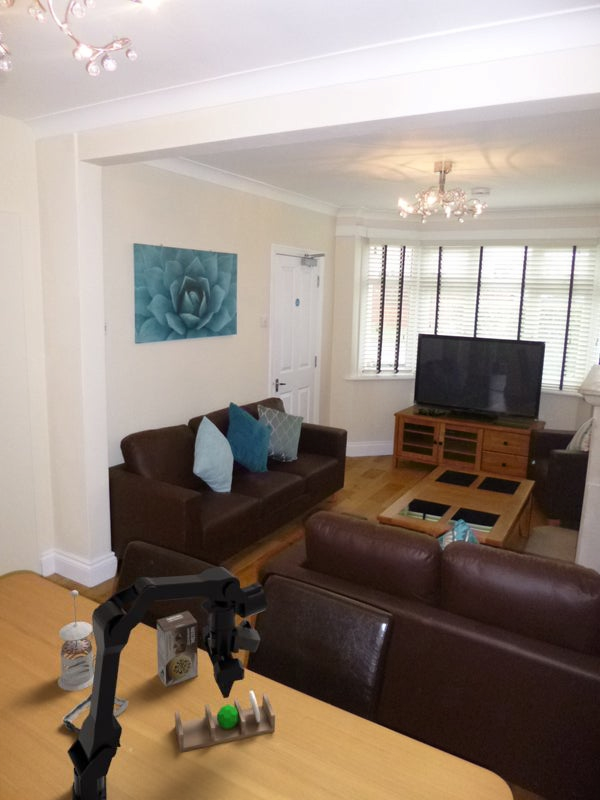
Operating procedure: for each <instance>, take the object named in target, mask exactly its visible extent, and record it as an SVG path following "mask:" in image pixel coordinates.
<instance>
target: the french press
mask: <svg viewBox="0 0 600 800" xmlns="http://www.w3.org/2000/svg"><path fill="white" fill-rule="evenodd" d="M69 594H70V595H69V596H70V597H73V599H74V602H73V603H74V605H73V606H74V609H76V597H78V596H79V592H78V590H76V589H74V590H71V591H70V593H69ZM76 613H77V612H76V610H74V621H73V622H71V623H68V624H67V625H64V626H62V628H61V629H59V633H58V634H59V635H58V636H59V638H60V639H62V640H63V641H65V642H64V643H62V646H61V650H60V663H61V664H60V665H61V667H60V668H61V674H60V676H59V677H58V680H57V685H58V687H60V688H61V689H62V690H65V691H69V692H71V691H72V692H73V691H81V690H83V689H86V688H88V687H89V686H93V678H94V669H95V661H96V653H95V654H94V655H93V645H92V640H93V639H94V634H93V625H92V624H90V623H88V622H86V621H77V618H76V617H77V615H76ZM90 635H91V636H90ZM89 636H90V637H91V639H89V638H88V637H89ZM84 655H85V656H84ZM75 656H76V657H75Z"/></svg>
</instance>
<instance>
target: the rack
mask: <svg viewBox="0 0 600 800" xmlns="http://www.w3.org/2000/svg"><path fill="white" fill-rule="evenodd" d="M233 699H234V700H233V701H234V704H233V707H235V708H236V710H237V711H238V714H239V718H238V721H237V723H236V724H235V726H234V727H232V728H229V729H225V728H223V727H221V726H220V725H219V723H218V721H217V714H216V715H212V712H211V707H210V704H209V703H207V704H205V705H204V706H205V707H204V709H205V710H204V712H205V713H204V717H201V718H196V719H192V720H186V721H181V715H180V711H179V709H177V710H174V723H175V724H174V725H175V726H174V727H175V732H176V738H177V743H178V748H179V752H180V753H181V752H185V751H190V750H195V749H199V748H204V747H208V746H213V745H217V744H222V743H226V742H231V741H235V740H241V739H245V738H249V737H253V736H258V735H264V734H267V733H272V732H275V731H276V730H275V729H276V728H275V726H276V713H275V711H274V709H273V707H272V704H271V701H270V699H269V697H268V695H267V692H263V693H262V700H261V701H262V705H260V706H258V709H259V713H260V719H261V722H258V723H257V722H256V720H255V717H254V714H253V711H252V707H250V708H244V709H242V708H241V704H240V701H239V699H238V698H233Z"/></svg>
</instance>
